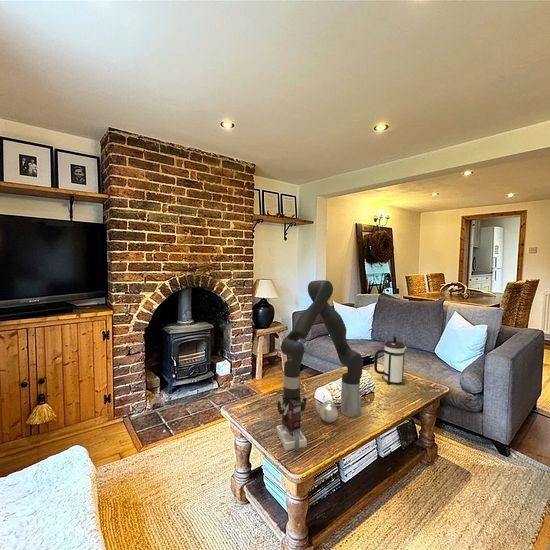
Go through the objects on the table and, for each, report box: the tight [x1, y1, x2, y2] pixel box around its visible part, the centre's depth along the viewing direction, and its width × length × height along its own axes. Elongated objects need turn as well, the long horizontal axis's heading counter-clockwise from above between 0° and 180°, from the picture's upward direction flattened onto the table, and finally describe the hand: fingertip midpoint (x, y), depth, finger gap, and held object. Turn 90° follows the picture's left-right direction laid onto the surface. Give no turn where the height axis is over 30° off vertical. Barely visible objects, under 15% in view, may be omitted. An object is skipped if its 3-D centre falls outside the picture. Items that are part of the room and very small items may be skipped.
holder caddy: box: [276, 424, 308, 452], centre depth 136 cm, size 10×17×7 cm, turn 16°
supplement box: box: [281, 398, 302, 437], centre depth 135 cm, size 9×5×16 cm, turn 31°
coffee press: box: [373, 335, 407, 386], centre depth 195 cm, size 17×16×30 cm
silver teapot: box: [319, 399, 339, 423], centre depth 150 cm, size 9×10×10 cm
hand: (291, 420), depth 135 cm, fingers closed on supplement box, 5 cm apart
